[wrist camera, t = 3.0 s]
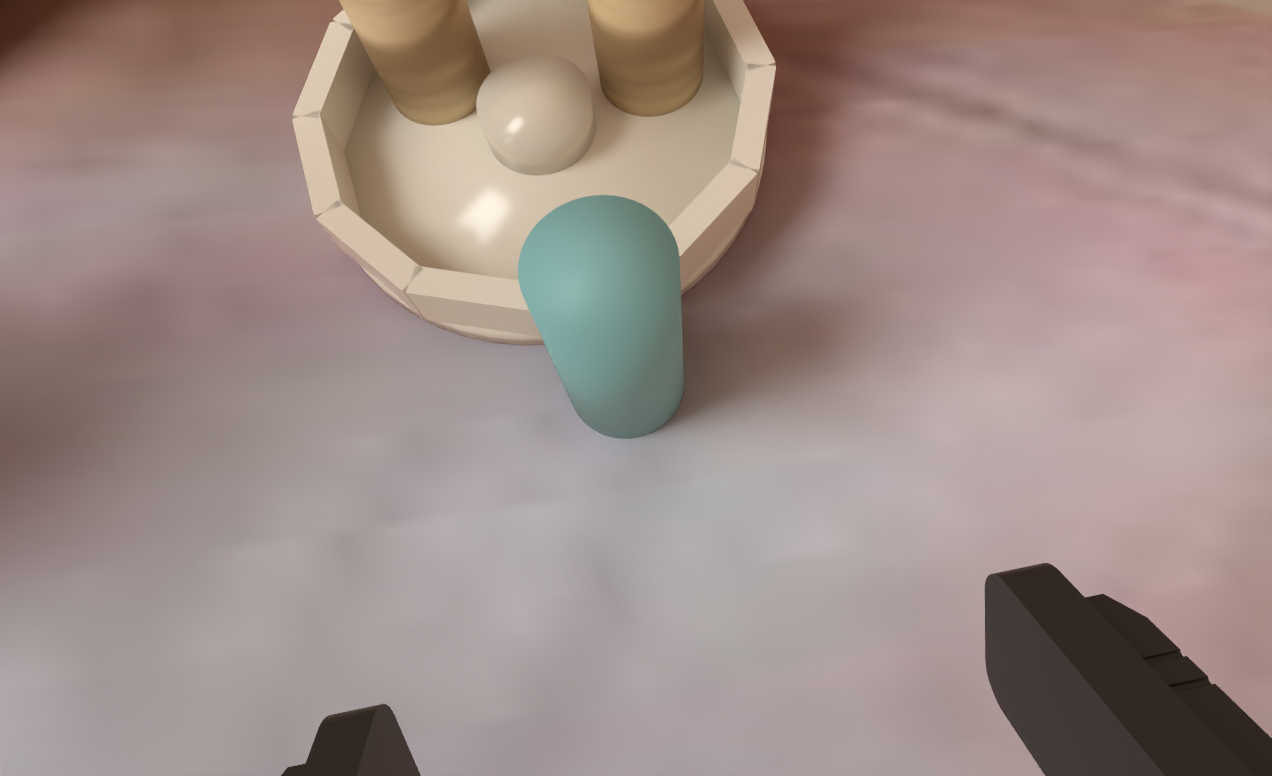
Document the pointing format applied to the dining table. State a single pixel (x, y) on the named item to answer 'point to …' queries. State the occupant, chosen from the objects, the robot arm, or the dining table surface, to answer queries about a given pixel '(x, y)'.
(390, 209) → the ring dish
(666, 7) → the ribbed wooden peg
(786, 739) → the dining table surface
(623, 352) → the teal rounded cylinder
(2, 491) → the dining table surface
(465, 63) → the tan rounded cylinder
